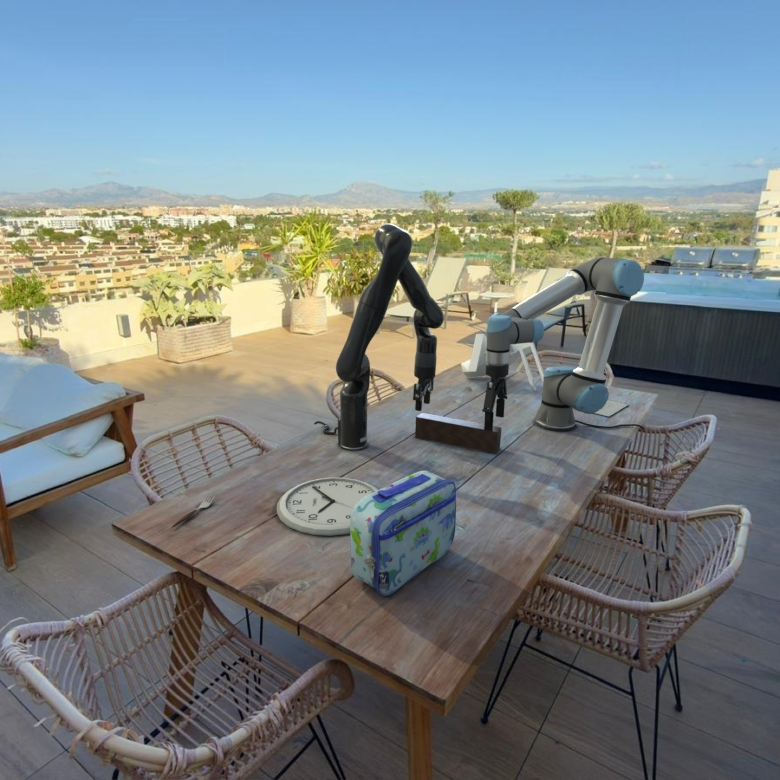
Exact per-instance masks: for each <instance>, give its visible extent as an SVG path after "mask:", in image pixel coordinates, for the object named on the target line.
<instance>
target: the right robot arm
mask: <svg viewBox="0 0 780 780" xmlns="http://www.w3.org/2000/svg"><path fill="white" fill-rule="evenodd" d="M644 282H645V273H644V270H643V269H642V266H641V264H640V263H639V262H637V261H636V260H633V259H628V258H617V257H616V258H615V257H604V256H600V257H595V258H592V259H589V260H587V261H585V262H582V263H581V264H579V265H577V266H575V267H573V268H572V269H570V270H568V271H567V272H566V273H565V276H564V277H562V278H560V279H558V280H557V281H555V282H554V283H552V284H550V285H548V286H547V287H545V288H543V289H541V290H540V291H538V292H537V293H535V294H533V295H532V296H530V297H528V298H526V299H524V300H523V301H522V302H520V303H518V304H516V305H515V306H513V307H511V308H510V309H508V310H506V311H504V312H503V311H501V312H494V313H492V315H491V316H490V317H488V319H487V327H486V337H487V347H486V352H485V355H486V362H487V363H486V368H485V373H486V376H488V377H490V379H489V380H488V381H487V382H486V390H485V395H484V401H483V407H482V409H481V412H482V413H484V423H483V424H484V430H488V431H493V426H494V408H495V417H496V418H501V419H502V418H503V419H504V417H505V403H506V400H508V392H507V381H506V377H507V376H509V369H510V366H509V365H508V363H509V355H510V344H521V343H532V342H533V343H537V342H540V341H541V340H543V337H544V336H545V326H544V323H543V322H542V320H540V319H537V318H539V317H541V316H543V315H544V314H545V313H547V312H549V311H551V310H552V309H554V308H556V307H558V306H560V305H561V304H562V303H564V302H566V301H567V300H570V299H571V298H573V297H574V296H582V295H583V294H585V293H588V292H591V291H595V292H594V297H595V299H596V304H595V308H594V312H593V315H592V319H591V322H590V325H589V330H588V332H587V336H586V339H585V343H584V347H583V350H582V354H581V355H580V356H581V357H580V360H579V364H578V366H577V367H573V366H566V365H565V366H564V365H562V366H561V365H559V366H558V365H557V366H549V367H547V368H546V369H545V370H544V381H543V382H542V394H541V402H540V405H539V407H538V410H537V411H536V413H535V416H534V424H535V425H536V426H537V427H539V428H542V429H544V430H549V431H556V432H567V431H572V430H574V429H575V428H576V423H577V424H580V425H584V426H588V427H591V428H592V427H593V428H599V429H615V428H620V427H638V428H640V429H641V430H645V427H644V426H642V425H640V424H638V423H633V424H632V423H629V424H627V423H624V424H623V423H622V424H617V425H612V426H609V425H608V426H606V425H605V426H604V425H596V424H591V423H586V422H583V421H580V420H578V419H576V418H575V417H576V416H575V413H574V409H575V410H576V411H577V412H580V413H584V414H587V415H590V414H591V415H593V414H596V413H595V412H597V411H598V410H600V409H602V408H603V407H604V405H605V404H606V402H607V400H609V396H610V392H609V389H608V387H607V386H606V385H605V384H606V382H607V377H606V375H605V374H604V372H605V369H606V365H607V363H608V359H609V355H610V353H611V352H610V351H611V349H612V346H613V342H614V338H615V336H616V332H617V328H618V326H619V322H620V319H621V315H622V313H623V308H624V307H625V306H626V305H628V304H629V303H630V302H631V298H632V297H634V296H636V295H638V292H640V291H641V290H642V288H643V286H644Z"/></svg>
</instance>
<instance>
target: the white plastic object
mask: <svg viewBox="0 0 780 780" xmlns="http://www.w3.org/2000/svg"><path fill="white" fill-rule="evenodd" d="M486 347H487V335H486V334H485V333H476V334H475V338H474V342H473V347H472V351H471V356H470V359H468V360H466V361H463V362H461V363H460V366H461V371H462V373H463V374H464V376H465V377H466V378H477V377H484V376H487V375H486V373H485V368H486V363H487V362H486V355H485V352H486ZM531 353H532V355H533V357H534V362H535V364H536V367H537V371H538V374H539V376H540V379H541V382H542V383H543V381H544V374H545V370H544V369H543V366H542V362H541V360H540V356H539V355H538V351H537V347H536V344H535V342H532V343H521V344H510V355H509V363H508V365H509V367H510V366H511V365H512V364H515V362H517V361H518V360H520V359H521V361H522V364H523V367H524V370H525V373H526V377H527V379H528V382H529V384H530V387H532V389H533V390H534V391H537V390H536V389H537V387H536V383H535V380H534V376H533V373H532V370H531V368H530V365H529V362H528V358H527V355H528V354H531Z"/></svg>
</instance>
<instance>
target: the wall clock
mask: <svg viewBox="0 0 780 780" xmlns="http://www.w3.org/2000/svg"><path fill="white" fill-rule="evenodd" d="M378 490H380V489H379V488H377V487H376V486H374V485H372V484H371V483H369V482H365V481H362V480H359V479H355V478H349V477H338V476H337V477H335V476H333V477H332V476H331V477H322V478H317V479H312V480H307V481H305V482H302V483H299V484H297V485H295V486H293V487H292V488H290V489H288V490H287V491H286V492H285V493H284V494H283V495H281V496H280V498H279V499H278V502H277V503H276V515H277V517H278V518H279V520H280V521H281V522H282V523H283V524H285V525H286V526H287V527H288V528H290V529H293V530H295V531H297V532H299V533H303V534H308V535H312V536H327V537H328V536H329V537H331V536H332V537H333V536H342V535H350V517H351V513H352V510H353V508H354V506H355V505H356V503H357V502H358V501H359V500H360V499H362V498H364V497H365V496H367V495H370V494H372V493H374V492H376V491H378Z"/></svg>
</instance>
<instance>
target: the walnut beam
mask: <svg viewBox="0 0 780 780" xmlns="http://www.w3.org/2000/svg"><path fill="white" fill-rule="evenodd" d="M502 429H503V428H502V426H501V427H500V426H496V425H493V431H488V430H484V423H479V422H473V421H468V420H463V419H458V418H453V417H448V416H447V417H446V416H441V415H437V414H430V413H425V412H420V413H419V414H417V415H416V416H415V429H414V430H415V432H414V438H417V439H421V440H427V441H431V442H435V443H440V444H444V445H445V444H446V445H450V446H454V447H460V448H465V449H468V450H469V449H470V450H474V451H480V452H483V453H489V454H493V455H496V454H497V453H498V452H499V451H500V449H501V438H502Z"/></svg>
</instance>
